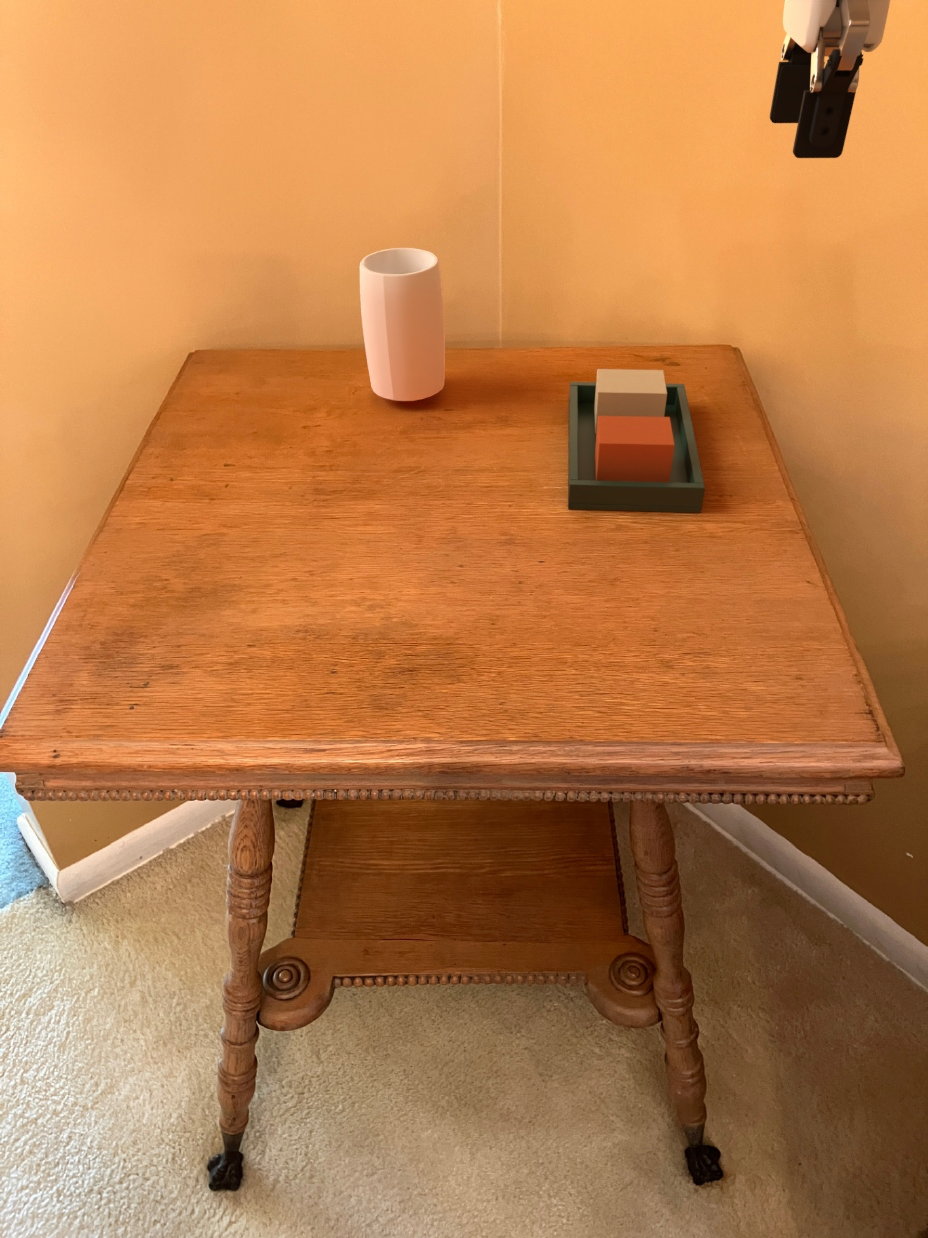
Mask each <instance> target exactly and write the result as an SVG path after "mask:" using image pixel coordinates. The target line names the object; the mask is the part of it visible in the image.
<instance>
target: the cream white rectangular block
mask: <svg viewBox="0 0 928 1238" xmlns="http://www.w3.org/2000/svg"><path fill="white" fill-rule="evenodd" d="M595 378H596V380H595V382H596V392H595V406H594V420H595V434H597V420H598V416H642V417H664V414H665V406H666V399H667V390H666V377H665V370H664V369H629V368H628V369H626V368H625V369H624V368H621V369H620V368H597V369H596V377H595Z"/></svg>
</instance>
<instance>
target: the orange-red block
mask: <svg viewBox="0 0 928 1238" xmlns="http://www.w3.org/2000/svg"><path fill="white" fill-rule="evenodd" d="M674 446H675V445H674V439H673V433H672V427H671V421H670V417H642V416H598V420H597V434H596V447H595V481H631V482H669V481H670V474H671V467H672V460H673V453H674Z"/></svg>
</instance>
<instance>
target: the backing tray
mask: <svg viewBox="0 0 928 1238" xmlns="http://www.w3.org/2000/svg"><path fill="white" fill-rule="evenodd" d="M665 383H666V382H665ZM568 389H569V390H568V428H567V429H568V432H567V433H568V436H567V437H568V439H567V442H568V449H567V456H568V457H567V459H568V460H567V470H568V471H567V509H568V510H579V511H580V510H581V511H582V510H583V511H584V510H585V511H616V512H617V511H618V512H620V511H622V512H651V513H652V512H653V513H655V512H657V513H686V514H687V513H690V514H701V513H702V509H703V503H704V496H705V491H706V486H705V481H704V476H703V470H702V466H701V462H700V461H701V460H700V456H699V452H698V445H697V442H696V436H695V431H694V426H693V421H692V416H691V411H690V406H689V401H688V396H687V391H686V387H685V384H684V383H666V390H667V399H666V406H665V414H664V417H670V421H671V427H672V433H673V439H674V445H675V446H674V453H673V460H672V467H671V474H670V481H669V482H631V481H595V447H596V434H595V420H594V406H595V392H596V381H569V388H568Z"/></svg>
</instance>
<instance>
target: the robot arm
mask: <svg viewBox="0 0 928 1238" xmlns="http://www.w3.org/2000/svg"><path fill="white" fill-rule="evenodd" d="M890 4H891V0H784V6H783V15H782V27H783V31H784V32H785V33H786V34H785V37H784V40H783V43H782V46H781V52H780V60H781V61H778V65H777V70H776V71H777V72H776V76H775V83H774V89H773V93H772V94H773V95H772V101H771V105H770V112H769V120H770V121H771V123H773V124H797V126H796V132H795V137H794V140H793V148H792V154H793V155H794V157H795V158H797V159H838V158H839V157H840V156H842V154H843V152H844V148H845V142H846V138H847V133H848V129H849V125H850V120H851V115H852V111H853V106H854V102H855V99H856V98H855V97H856V93H857V89H858V85H859V81H860V67H861V66H862V65H863V62H864V58H863V57H864V54H863V51H864V52H865V53H871V52H873V51H875V50H876V49H877V48H878V47H879V46H881V43H882V41H883V38H884V33H885V30H886V29H885V28H886V24H887V19H888V15H889V9H890ZM825 57H827V61H826V62H825ZM825 63H826V64H825Z"/></svg>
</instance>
